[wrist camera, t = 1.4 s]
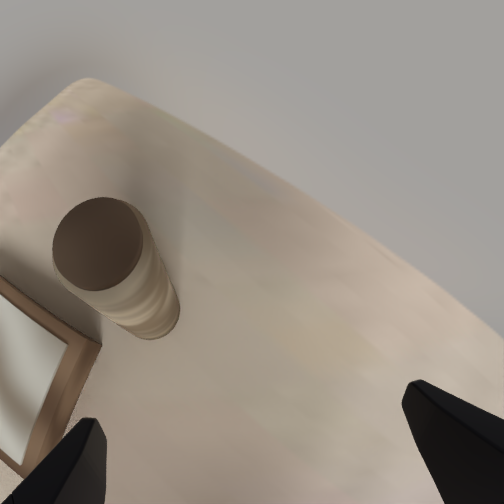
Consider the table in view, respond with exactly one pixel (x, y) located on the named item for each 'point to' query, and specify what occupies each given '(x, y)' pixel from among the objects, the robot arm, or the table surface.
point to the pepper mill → (116, 267)
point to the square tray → (37, 378)
